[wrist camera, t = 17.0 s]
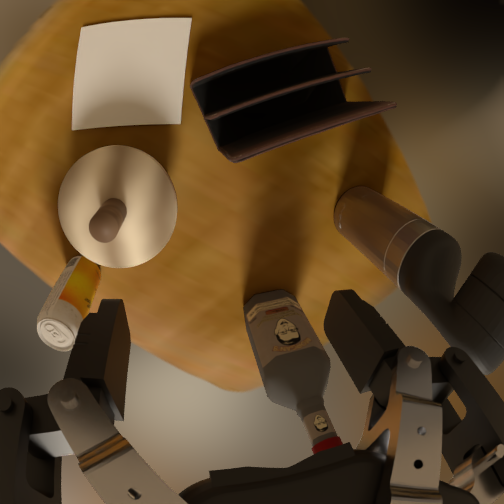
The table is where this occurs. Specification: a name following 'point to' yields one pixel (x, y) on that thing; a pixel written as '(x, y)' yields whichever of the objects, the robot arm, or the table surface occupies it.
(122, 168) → the lid
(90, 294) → the beer can
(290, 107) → the letter holder
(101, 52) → the mat
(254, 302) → the liquor
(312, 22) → the table surface
